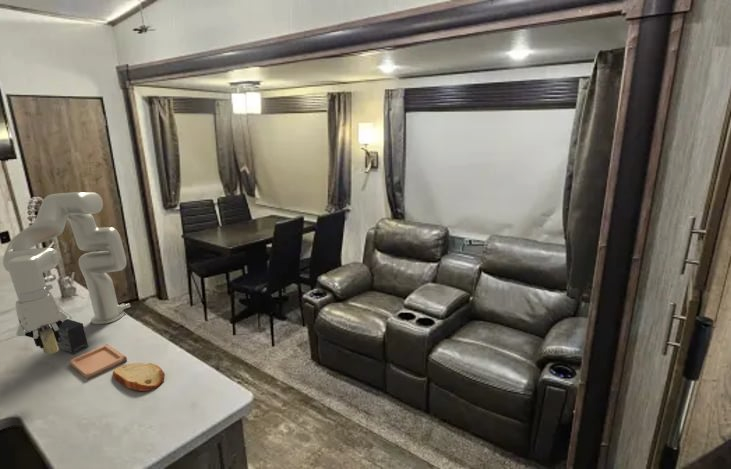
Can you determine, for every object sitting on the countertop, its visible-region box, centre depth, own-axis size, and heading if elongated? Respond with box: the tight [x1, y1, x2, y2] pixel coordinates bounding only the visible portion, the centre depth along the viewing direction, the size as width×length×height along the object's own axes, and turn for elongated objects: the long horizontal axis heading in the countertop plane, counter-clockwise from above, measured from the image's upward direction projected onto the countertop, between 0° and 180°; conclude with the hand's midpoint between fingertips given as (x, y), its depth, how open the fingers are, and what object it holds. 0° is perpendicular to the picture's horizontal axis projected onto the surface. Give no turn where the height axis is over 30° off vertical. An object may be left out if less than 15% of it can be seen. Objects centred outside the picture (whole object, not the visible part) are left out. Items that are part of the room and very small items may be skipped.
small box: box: [57, 318, 89, 355], centre depth 155 cm, size 11×6×10 cm, turn 65°
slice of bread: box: [112, 362, 166, 392], centre depth 136 cm, size 18×18×4 cm
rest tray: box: [68, 343, 128, 380], centre depth 146 cm, size 13×16×2 cm
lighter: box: [38, 324, 60, 355], centre depth 129 cm, size 7×4×10 cm, turn 51°
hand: (48, 343), depth 131 cm, fingers closed on lighter, 3 cm apart
